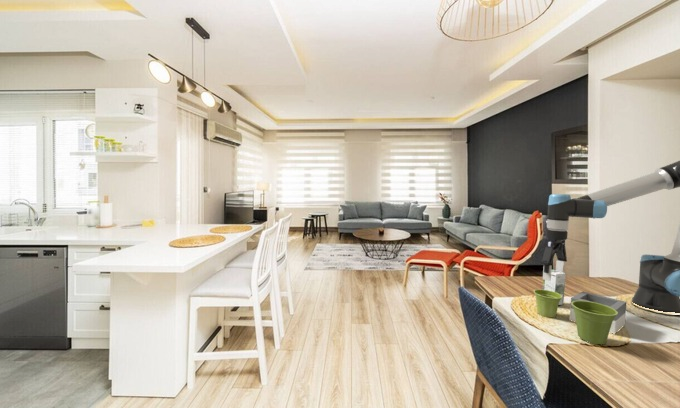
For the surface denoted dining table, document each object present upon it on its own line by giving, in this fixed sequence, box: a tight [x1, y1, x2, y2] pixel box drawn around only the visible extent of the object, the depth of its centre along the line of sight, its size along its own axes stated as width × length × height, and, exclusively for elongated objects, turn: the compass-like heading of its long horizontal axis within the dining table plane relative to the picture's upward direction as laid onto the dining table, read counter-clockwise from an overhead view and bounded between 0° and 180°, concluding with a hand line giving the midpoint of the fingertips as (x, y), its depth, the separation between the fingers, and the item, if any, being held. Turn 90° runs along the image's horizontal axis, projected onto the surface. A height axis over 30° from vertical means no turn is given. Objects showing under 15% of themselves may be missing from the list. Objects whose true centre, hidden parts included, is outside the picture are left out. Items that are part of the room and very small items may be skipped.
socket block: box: [569, 291, 627, 335], centre depth 111 cm, size 13×13×9 cm
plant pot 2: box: [570, 301, 618, 346], centre depth 99 cm, size 12×12×11 cm
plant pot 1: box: [533, 289, 562, 318], centre depth 118 cm, size 9×9×9 cm
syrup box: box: [541, 269, 567, 306], centre depth 129 cm, size 6×6×14 cm
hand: (553, 277), depth 129 cm, fingers open, 13 cm apart
